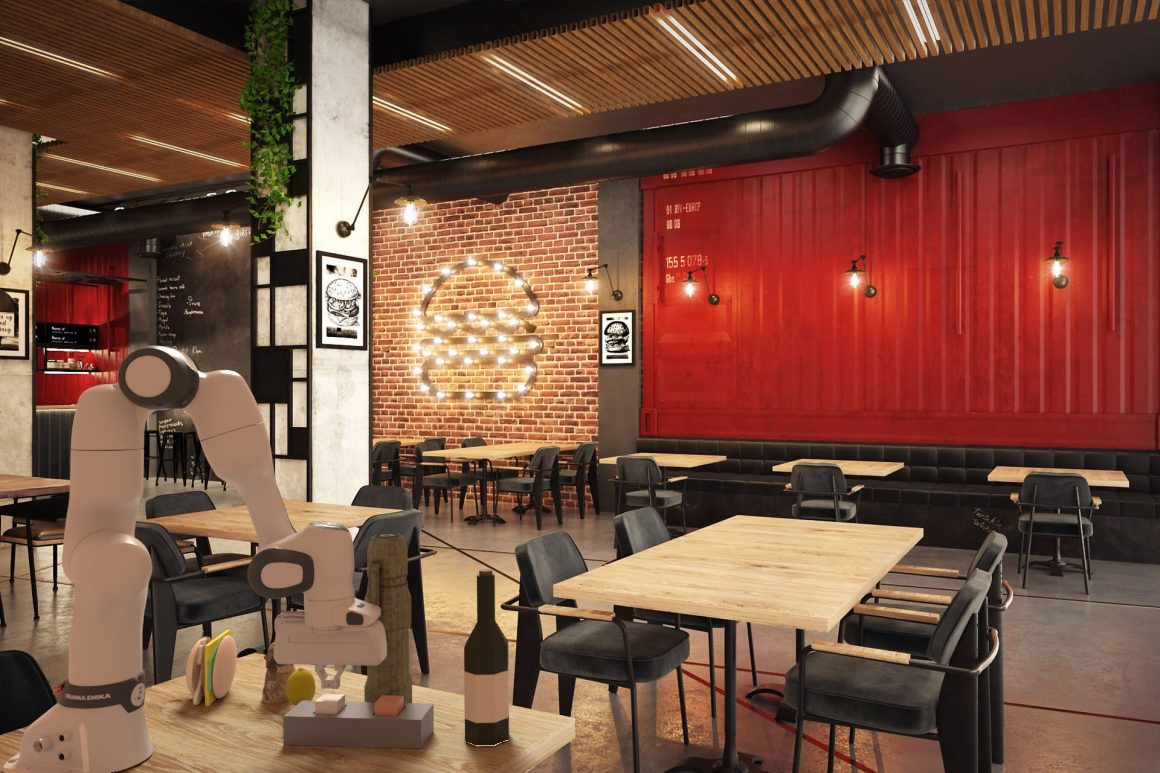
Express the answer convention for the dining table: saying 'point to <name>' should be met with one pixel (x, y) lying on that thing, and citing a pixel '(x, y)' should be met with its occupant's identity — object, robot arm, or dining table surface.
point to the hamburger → (211, 667)
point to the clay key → (389, 705)
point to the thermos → (390, 615)
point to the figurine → (276, 678)
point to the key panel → (359, 726)
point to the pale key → (330, 704)
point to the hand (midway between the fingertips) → (330, 688)
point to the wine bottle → (486, 671)
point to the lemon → (300, 686)
